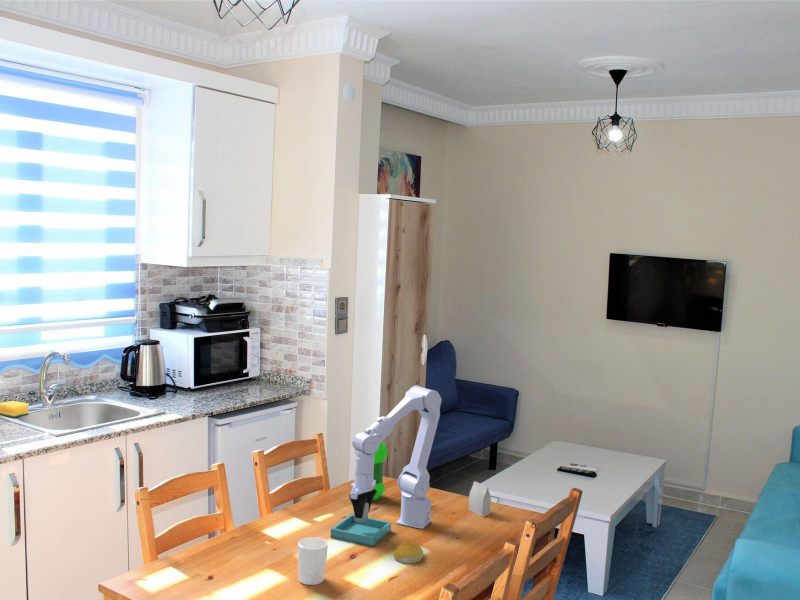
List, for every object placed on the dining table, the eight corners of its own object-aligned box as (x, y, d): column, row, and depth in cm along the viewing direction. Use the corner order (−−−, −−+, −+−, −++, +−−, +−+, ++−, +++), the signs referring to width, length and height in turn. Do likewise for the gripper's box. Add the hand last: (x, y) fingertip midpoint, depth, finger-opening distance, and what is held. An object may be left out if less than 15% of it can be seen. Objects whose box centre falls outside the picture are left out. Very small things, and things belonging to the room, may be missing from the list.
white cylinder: (370, 519, 233) (371, 503, 233) (363, 523, 229) (364, 507, 229) (358, 515, 235) (359, 500, 235) (351, 520, 231) (351, 504, 231)
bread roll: (391, 562, 214) (392, 549, 213) (397, 550, 222) (398, 537, 222) (420, 566, 212) (421, 552, 212) (425, 553, 221) (425, 540, 221)
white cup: (297, 572, 204) (298, 537, 203) (326, 573, 204) (327, 537, 204) (295, 586, 196) (297, 548, 195) (326, 586, 197) (327, 549, 196)
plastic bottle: (357, 492, 271) (361, 423, 269) (386, 494, 270) (390, 426, 268) (353, 501, 261) (356, 430, 259) (383, 504, 260) (387, 433, 258)
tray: (390, 530, 237) (391, 522, 236) (372, 546, 224) (372, 537, 223) (350, 522, 242) (351, 514, 242) (330, 537, 229) (330, 528, 229)
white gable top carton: (481, 517, 253) (483, 487, 252) (468, 510, 258) (470, 482, 258) (489, 515, 255) (491, 486, 254) (476, 508, 261) (478, 480, 260)
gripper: (362, 463, 239) (360, 505, 240) (341, 476, 226) (339, 520, 227) (382, 467, 237) (380, 509, 238) (363, 480, 223) (360, 524, 224)
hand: (362, 515), depth 232 cm, fingers closed on white cylinder, 4 cm apart
